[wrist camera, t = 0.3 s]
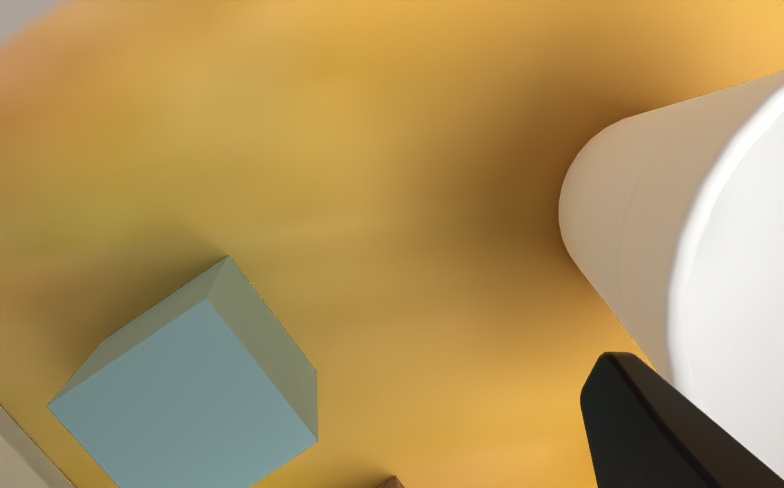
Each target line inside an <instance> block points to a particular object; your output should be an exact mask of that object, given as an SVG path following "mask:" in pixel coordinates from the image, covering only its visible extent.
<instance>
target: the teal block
mask: <svg viewBox="0 0 784 488" xmlns="http://www.w3.org/2000/svg"><path fill="white" fill-rule="evenodd" d="M46 407H47V408H48V409H49V410H50V411H51V412H52V413H53V414H54V416H55V417H56V418H57V419H58V420H59V421H60V422H61V423H62V424H63V426H64V427H65V428H66V429H67V430H68V431H69V432H70V433H71V435H72V436H73V437H74V438H75V439H76V440H77V441H78V442H79V443H80V445H81V446H82V447H83V448H84V449H85V450H86V451H87V452H88V453H89V455H90V456H91V457H92V458H93V459H94V460H95V461H96V462H97V463H98V465H99V466H100V467H101V468H102V469H103V470H104V471H105V472H106V473H107V475H108V476H109V477H110V478H111V479H112V480H113V481H114V482H115V484H116V485H117V486H118V487H119V488H249V487H250V486H252V485H253V484H255V483H256V482H258V481H259V480H261V479H262V478H264V477H265V476H267V475H268V474H270V473H271V472H273V471H274V470H276V469H277V468H279V467H280V466H282V465H283V464H285V463H286V462H288V461H289V460H291V459H292V458H294V457H295V456H297V455H298V454H300V453H301V452H303V451H304V450H306V449H307V448H309V447H310V446H312V445H313V444H315V443H316V442H318V421H317V380H316V370H315V369H314V367H313V366H312V365H311V363H310V362H309V361H308V359H307V358H306V357H305V355H304V354H303V353H302V351H301V350H300V349H299V347H298V346H297V345H296V343H295V342H294V341H293V340H292V338H291V337H290V336H289V334H288V333H287V332H286V330H285V329H284V328H283V326H282V325H281V324H280V322H279V321H278V320H277V318H276V317H275V316H274V314H273V313H272V312H271V310H270V309H269V308H268V307H267V305H266V304H265V303H264V301H263V300H262V299H261V297H260V296H259V295H258V293H257V292H256V291H255V289H254V288H253V287H252V285H251V284H250V283H249V281H248V280H247V279H246V277H245V276H244V275H243V273H242V272H241V271H240V270H239V268H238V267H237V266H236V264H235V263H234V262H233V260H232V259H231V258H230V256H229V255H228V256H227V257H225V258H224V259H222V260H221V261H219V262H218V263H216V264H215V265H213V266H212V267H210V268H209V269H207V270H206V271H205V272H203V273H202V274H200V275H199V276H197V277H196V278H194V279H193V280H191V281H190V282H188V283H187V284H185V285H184V286H182V287H181V288H179V289H178V290H176V291H175V292H174V293H172V294H171V295H169V296H168V297H166V298H165V299H163V300H162V301H160V302H159V303H157V304H156V305H154V306H153V307H151V308H150V309H148V310H147V311H145V312H144V313H143V314H141V315H140V316H138V317H137V318H135V319H134V320H132V321H131V322H129V323H128V324H126V325H125V326H123V327H122V328H120V329H119V330H117V331H116V332H114V333H113V334H111V335H110V336H109V337H107V338H106V339H104V340H103V341H102V342H101V343H100V344H99V346H98V347H97V348H96V349H95V350H94V351H93V353H92V354H91V355H90V356H89V357H88V358H87V360H86V361H85V362H84V363H83V364H82V365H81V366H80V368H79V369H78V370H77V371H76V372H75V373H74V375H73V376H72V377H71V378H70V379H69V380H68V382H67V383H66V384H65V385H64V386H63V387H62V389H61V390H60V391H59V392H58V393H57V394H56V396H55V397H54V398H53V399H52V400H51V401H50V403H49V404H48V405H47V406H46Z"/></svg>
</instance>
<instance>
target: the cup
mask: <svg viewBox="0 0 784 488" xmlns="http://www.w3.org/2000/svg"><path fill="white" fill-rule="evenodd" d="M559 225H560V230H561V235H562V239H563V242H564V244H565V246H566V249H567V251H568V253H569V255H570V256H571V258H572V259H573V261H574V262H575V264H576V265H577V266H578V268H579V269H580V270H581V272H582V273H583V274H584V276H585V277H586V278H587V280H588V281H589V282H590V284H591V285H592V286H593V288H594V289H595V290H596V291H597V292H598V294H599V295H600V296H601V298H602V299H603V300H604V302H605V303H606V304H607V306H608V307H609V308H610V309H611V311H612V312H613V314H614V315H615V316H616V317H617V319H618V320H619V321H620V322H621V324H622V325H623V327H624V328H625V329H626V330H627V332H628V333H629V334H630V336H631V337H632V338H633V339H634V341H635V342H636V344H637V345H638V346H639V347H640V349H641V350H642V352H643V353H644V354H645V355H646V357H647V358H648V360H649V361H650V363H651V364H652V365H653V367H654V368H655V369H656V371H657V372H658V373H659V374H660V376H661V377H662V378H663V379H665V380H666V381H667V382H668V383H669V384H671V385H672V386H673V387H674V388H675V389H677V390H678V391H679V392H680V393H681V394H682V395H684V396H685V397H686V398H687V399H688V400H690V401H691V402H692V403H693V404H694V405H696V406H697V407H698V408H699V409H700V410H701V411H703V412H704V413H705V414H706V415H707V416H709V417H710V418H711V419H712V420H713V421H715V422H716V423H717V424H718V425H719V426H720V427H722V428H723V429H724V430H725V431H726V432H728V433H729V434H730V435H731V436H732V437H734V438H735V439H736V440H737V441H738V442H740V443H741V444H742V445H743V446H744V447H745V448H747V449H748V450H749V451H750V452H751V453H753V454H754V455H755V456H756V457H757V458H759V459H760V460H761V461H762V462H763V463H764V464H766V465H767V466H768V467H769V468H770V469H772V470H773V471H774V472H775V473H776V474H778V475H779V476H780V477H781V478H782V479H783V480H784V70H783V71H780V72H777V73H773V74H770V75H767V76H764V77H760V78H757V79H754V80H750V81H747V82H744V83H741V84H739V85H735V86H731V87H729V88H725V89H721V90H718V91H715V92H712V93H708V94H705V95H702V96H698V97H695V98H692V99H688V100H685V101H682V102H679V103H675V104H671V105H669V106H665V107H662V108H658V109H655V110H651V111H648V112H644V113H641V114H638V115H634V116H631V117H628V118H624V119H621V120H620V121H618V122H616V123H614V124H612V125H610V126H608V127H606V128H604V129H603V130H602V131H600V132H599V133H598V134H597V135H595V136H594V137H593V138H591V139H590V140H589V142H588V143H587V144H586V145H585V146H584V147H583V148H582V149H581V150H580V152H579V153H578V154H577V156H576V158H575V159H574V161H573V162H572V164H571V166H570V167H569V169H568V172H567V174H566V177H565V179H564V182H563V185H562V189H561V194H560V199H559Z"/></svg>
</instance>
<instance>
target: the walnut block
mask: <svg viewBox="0 0 784 488" xmlns="http://www.w3.org/2000/svg"><path fill="white" fill-rule="evenodd" d="M377 488H404V486H403V485H402V484H401V482H400V481H399V480H398V478H397V477H396V476H394V477H392V478H391V479H389V480H388V481H386V482H385V483H383V484H382V485H380V486H379V487H377Z"/></svg>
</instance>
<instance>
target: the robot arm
mask: <svg viewBox="0 0 784 488" xmlns="http://www.w3.org/2000/svg"><path fill="white" fill-rule="evenodd" d="M580 405H581V411H582V416H583V420H584V425H585V430H586V434H587V439H588V444H589V448H590V453H591V458H592V462H593V467H594V472H595V476H596V481H597V486H598V488H784V480H783V479H782V478H781V477H780V476H779V475H778V474H776V473H775V472H774V471H773V470H772V469H770V468H769V467H768V466H767V465H766V464H764V463H763V462H762V461H761V460H760V459H759V458H757V457H756V456H755V455H754V454H753V453H751V452H750V451H749V450H748V449H747V448H745V447H744V446H743V445H742V444H741V443H740V442H738V441H737V440H736V439H735V438H734V437H732V436H731V435H730V434H729V433H728V432H726V431H725V430H724V429H723V428H722V427H720V426H719V425H718V424H717V423H716V422H715V421H713V420H712V419H711V418H710V417H709V416H707V415H706V414H705V413H704V412H703V411H701V410H700V409H699V408H698V407H697V406H696V405H694V404H693V403H692V402H691V401H690V400H688V399H687V398H686V397H685V396H684V395H682V394H681V393H680V392H679V391H678V390H677V389H675V388H674V387H673V386H672V385H671V384H669V383H668V382H667V381H666V380H665V379H663V378H662V377H661V376H660V375H659V374H658V373H656V372H655V371H654V370H653V369H652V368H650V367H649V366H648V365H647V364H646V363H644V362H643V361H642V360H641V359H640V358H638V357H637V356H636V355H634V354H632V353H629V352H604V353H603V354H602V355H600V356H599V358H598V360H597V361H596V363H595V365H594V367H593V369H592V371H591V373H590V375H589V376H588V378H587V380H586V382H585V384H584V386H583V388H582V391H581V395H580Z"/></svg>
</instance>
